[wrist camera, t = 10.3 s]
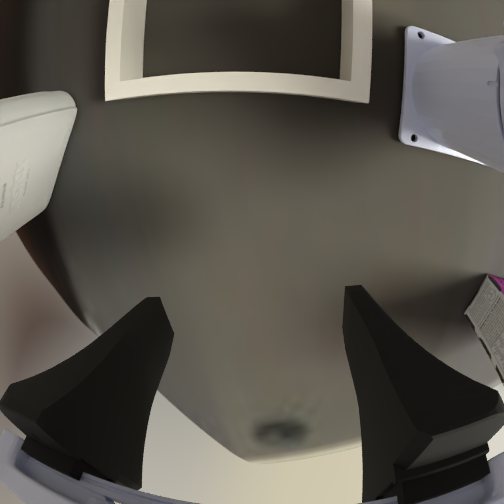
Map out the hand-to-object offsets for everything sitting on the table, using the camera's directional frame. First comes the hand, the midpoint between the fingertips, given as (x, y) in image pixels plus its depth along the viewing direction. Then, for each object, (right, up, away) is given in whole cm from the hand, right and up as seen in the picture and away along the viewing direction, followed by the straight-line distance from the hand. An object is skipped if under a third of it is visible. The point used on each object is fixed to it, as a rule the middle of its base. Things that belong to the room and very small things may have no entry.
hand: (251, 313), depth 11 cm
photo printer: (-16, +10, +7) cm, 20 cm away
